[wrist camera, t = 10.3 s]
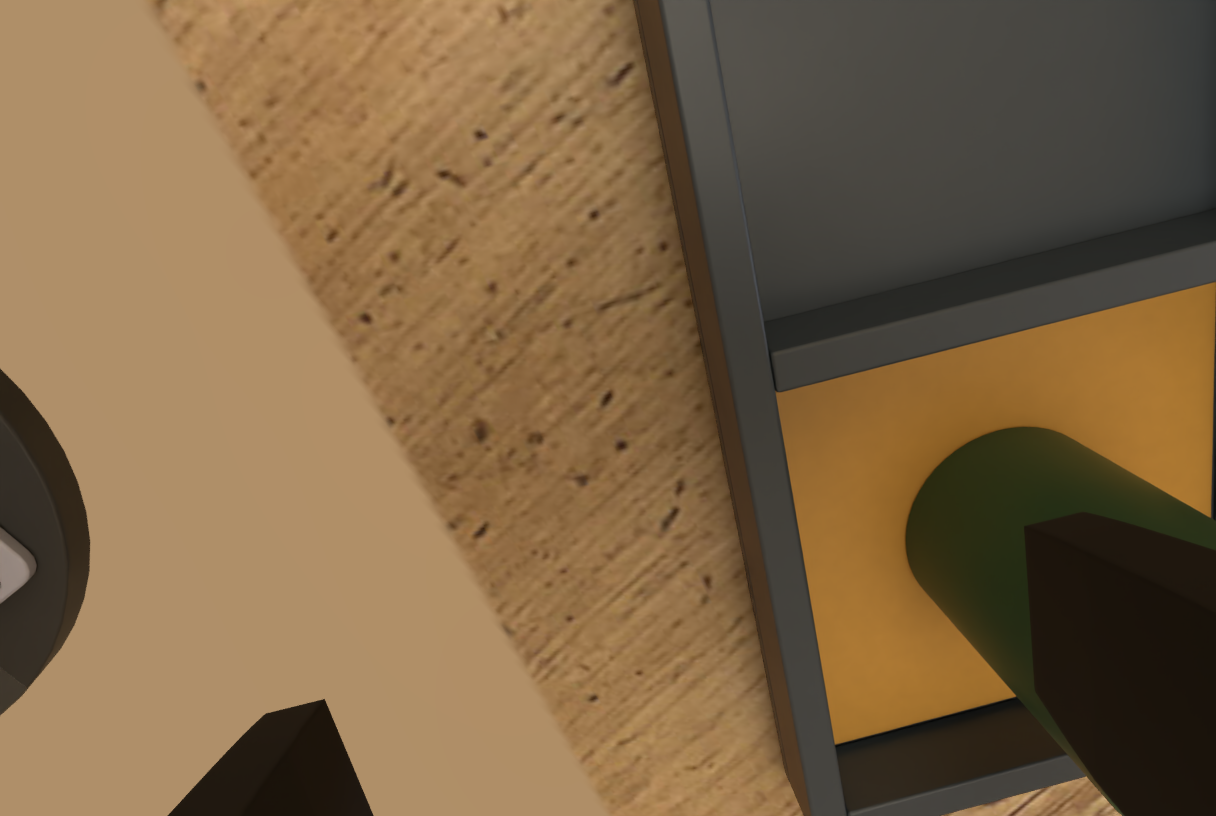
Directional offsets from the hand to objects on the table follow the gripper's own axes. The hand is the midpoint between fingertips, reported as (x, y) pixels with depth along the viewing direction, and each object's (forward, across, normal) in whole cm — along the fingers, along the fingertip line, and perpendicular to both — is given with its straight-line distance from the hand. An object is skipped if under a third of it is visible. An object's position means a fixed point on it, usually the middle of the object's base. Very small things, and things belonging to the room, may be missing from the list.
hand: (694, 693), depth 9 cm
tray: (+10, -8, 0) cm, 12 cm away
